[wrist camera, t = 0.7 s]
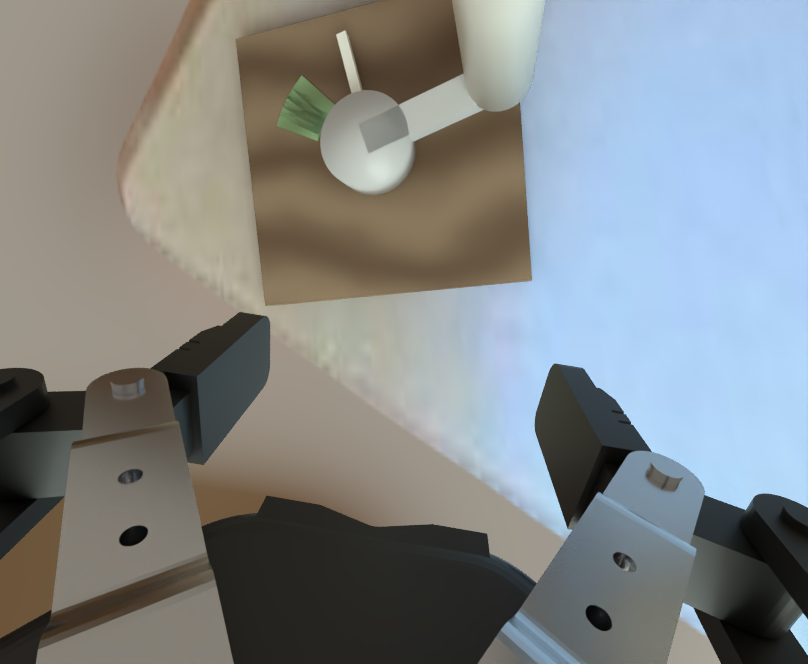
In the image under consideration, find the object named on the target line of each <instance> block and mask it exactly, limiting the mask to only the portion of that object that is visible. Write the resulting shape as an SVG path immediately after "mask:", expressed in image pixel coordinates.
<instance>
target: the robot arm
mask: <svg viewBox="0 0 808 664" xmlns="http://www.w3.org/2000/svg"><path fill="white" fill-rule="evenodd" d="M269 369H270V321H269V318H268V317H267V316H261V315H255V314H249V313H243V312H239V313H238V314H237V315H235V316H234V317H233V318H231V319H230V320H229V321H227V322H226V323H225V324H223V325H222V326H216V327H213V328H210V329H207V330H204V331H201V332H200V333H199V334H197V335H196V336H194V337H193V338H192V339H190V340H189V342H186V343H185V344H183V345H182V346H181V347H180V348H179V349H177V350H175V351H174V352H172V353H171V354H170V355H168V356H167V357H165V358H164V359H163V360H161V361H160V362H159V363H157V364H156V365H154V366H153V367H152V368H150V369H149V368H129V369H122V370H118V371H114V372H110V373H108V374H105V375H103V376H100V377H99V378H97V379H95V380H94V381H92V382H91V383H90V384H89V386H88V387H87V389H86V391H64V392H63V391H62V392H47V388H46V384H45V380H44V376H43V375H42V373H40V372H38V371H36V370H33V369H26V368H7V369H0V560H1V558H3V557H4V556H5V554H7V553H8V552H9V551H10V550H11V549H12V548H13V547H14V546H15V545H16V544H17V543H18V542H19V541H20V540H21V539H22V538H23V537H24V536H25V535H26V534H27V533H28V532H29V531H30V530H31V529H32V528H33V527H34V526H35V525H36V524H37V523H38V522H39V521H40V520H41V519H42V518H43V517H44V516H45V515H46V514H47V513H48V512H49V511H50V510H52V509H53V507H55V506H56V505H57V504H58V503H59V502H60V501H61V500H62V499H63V497H64V496H65V503H64V512H63V520H62V528H61V537H60V545H59V554H58V562H57V571H56V579H55V588H54V597H53V606H52V610H50V611H48V612H47V613H45V614H43V615H41V616H39V617H38V618H36V619H34V620H33V621H31V622H29V623H27V624H25V625H23V626H22V627H20V628H18V629H16V630H15V631H13V632H11V633H9V634H7V635H6V636H4V637H2V638H0V664H666V663H667V660H668V656H669V652H670V649H671V645H672V641H673V637H674V634H675V630H676V626H677V622H678V619H679V615H680V611H681V608H682V604H683V603H685V604H687V605H690V606H692V607H694V610H695V612H696V614H697V616H698V618H699V620H700V622H701V624H702V626H703V628H704V630H705V632H706V634H707V636H708V638H709V640H710V642H711V644H712V646H713V648H714V650H715V652H716V654H717V656H718V658H719V660H720V662H721V664H808V655H807V654H806V652H805V651H804V649H803V648H802V646H801V645H800V643H799V642H798V641H797V639H796V638H795V636H794V635H793V633H792V632H791V630H790V628H791V627H792V625H793V624H794V623H795V622H796V621H797V619H798V618H799V617H800V616H801V615H802V613H804V615H805V616H806V617H807V619H808V508H807V507H805V506H803V505H801V504H799V503H797V502H795V501H792V500H790V499H787V498H784V497H781V496H777V495H773V494H758V495H756V496H755V497H754V498H753V500H752V501H751V503H750V504H749V506H748V508H747V509H746V510H744V509H741V508H738V507H735V506H733V505H730V504H727V503H724V502H722V501H719V500H716V499H713V498H711V497H708V496H706V495H704V494H705V491H704V487H703V485H702V483H701V482H700V481H699V479H698V478H697V477H696V476H695V475H694V474H693V473H692V472H690V471H689V470H688V469H687V468H685V467H684V466H682V465H681V464H679V463H678V462H676V461H674V460H672V459H670V458H668V457H665V456H663V455H660V454H657V453H653V452H652V451H651V450H650V448H649V447H648V446H647V444H646V443H645V441H644V440H643V439H642V437H641V436H640V434H639V433H638V431H637V430H636V429H635V427H634V426H633V425H631V422H630V420H629V419H628V417H627V416H626V415H625V414H624V412H623V410H622V409H621V407H620V406H619V405H618V403H617V402H616V400H615V399H613V398H612V397H611V396H609V395H608V394H607V393H606V392H604V391H603V390H602V389H600V388H596V386H595V385H594V383H593V382H592V380H591V379H590V377H589V376H588V374H587V373H586V371H585V370H584V369H583V368H579V367H573V366H567V365H561V364H554V365H553V366H552V367H551V369H550V371H549V374H548V377H547V380H546V383H545V386H544V389H543V392H542V396H541V399H540V402H539V405H538V408H537V412H536V416H535V432H536V436H537V439H538V442H539V445H540V447H541V450H542V453H543V456H544V459H545V462H546V465H547V468H548V471H549V474H550V477H551V480H552V483H553V486H554V489H555V492H556V495H557V498H558V501H559V504H560V507H561V510H562V513H563V516H564V519H565V522H566V525H567V528H568V529H572V532H571V533H570V535H569V536H568V538H567V539H566V541H565V542H564V544H563V545H562V547H561V548H560V550H559V551H558V553H557V554H556V556H555V557H554V559H553V560H552V562H551V563H550V565H549V566H548V568H547V569H546V571H545V572H544V574H543V575H542V577H541V578H540V580H539V581H538V583H536V582H534V581H533V580H532V579H531V578H530V577H528V576H527V575H526V574H524V573H523V572H522V571H520V570H519V569H517V568H516V567H514V566H513V565H511V564H510V563H508V562H506V561H504V560H502V559H500V558H499V557H497V556H494V555H492V554H490V553H489V545H488V538H487V534H485V533H480V532H474V531H468V530H462V529H456V528H451V527H445V526H439V525H433V524H430V525H409V526H389V527H374V526H370V525H367V524H365V523H362V522H360V521H358V520H355V519H353V518H350V517H348V516H345V515H343V514H341V513H338V512H336V511H333V510H331V509H329V508H326V507H324V506H321V505H317V504H312V503H306V502H300V501H294V500H288V499H283V498H277V497H271V496H266V498H265V500H264V502H263V504H262V506H261V508H260V510H259V512H258V513H252V514H245V515H237V516H233V517H229V518H225V519H221V520H218V521H215V522H212V523H209V524H207V525H205V526H202V527H201V523H200V518H199V514H198V509H197V504H196V500H195V495H194V491H193V486H192V481H191V476H190V472H189V467H188V462H189V463H195V464H201V465H204V463H206V461H207V460H208V459H209V457H210V456H211V455H212V453H213V452H214V451H215V450H216V448H217V447H218V446H219V444H220V443H221V442H222V441H223V439H224V438H225V437H226V435H227V434H228V433H229V431H230V430H231V429H232V428H233V426H234V425H235V424H236V422H237V421H238V420H239V419H240V417H241V416H242V415H243V413H244V412H245V411H246V410H247V408H248V407H249V406H250V404H251V403H252V402H253V400H254V399H255V398H256V397H257V395H258V394H259V393H260V391H261V390H262V389H263V387H264V386H265V384H266V381H267V379H268V375H269Z"/></svg>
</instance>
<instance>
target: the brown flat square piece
mask: <svg viewBox="0 0 808 664" xmlns="http://www.w3.org/2000/svg"><path fill="white" fill-rule="evenodd" d="M343 31H346V32H347V34H348V36H349V40H350V43H351V47H352V51H353V55H354V59H355V63H356V66H357V70H358V74H359V78H360V82H361V85H362V89H363V90H373V91H378V92H381V93H384V94H386V95H388V96H389V97H391V98H392V99H393V100H394V101H395V102H396V103H397V104H398V105H399V104H401V103H403V102H405V101H408V100H410V99H412V98H414V97H416V96H418V95H420V94H422V93H424V92H426V91H428V90H430V89H433V88H435V87H437V86H439V85H441V84H443V83H445V82H447V81H449V80H451V79H453V78H455V77H457V76H460V75H462V74H464V72H463V65H462V59H461V53H460V47H459V41H458V34H457V28H456V22H455V16H454V10H453V3H452V0H381V1H378V2H374V3H370V4H366V5H363V6H359V7H355V8H352V9H348V10H344V11H340V12H337V13H333V14H329V15H325V16H322V17H318V18H314V19H310V20H307V21H303V22H299V23H296V24H292V25H288V26H284V27H281V28H277V29H273V30H269V31H266V32H262V33H258V34H254V35H251V36H247V37H243V38H240V39H236V44H237V53H238V62H239V71H240V80H241V89H242V99H243V108H244V117H245V126H246V135H247V144H248V153H249V162H250V171H251V180H252V189H253V198H254V208H255V217H256V226H257V235H258V244H259V253H260V262H261V271H262V280H263V289H264V298H265V306H268V305H283V304H293V303H304V302H314V301H325V300H335V299H346V298H356V297H367V296H377V295H388V294H398V293H409V292H419V291H430V290H440V289H451V288H461V287H472V286H482V285H493V284H503V283H514V282H524V281H531V280H532V276H531V261H530V246H529V231H528V216H527V201H526V186H525V171H524V157H523V142H522V127H521V112H520V102H519V103H518V104H517V105H515V106H514V107H512V108H510V109H507V110H504V111H499V112H492V111H487V110H482V111H480V112H478V113H475V114H473V115H471V116H469V117H467V118H464V119H462V120H460V121H458V122H456V123H453V124H451V125H449V126H447V127H445V128H442V129H440V130H438V131H436V132H433V133H431V134H429V135H427V136H425V137H422V138H420V139H418V140H416V156H415V160H414V164H413V166H412V169H411V171H410V173H409V174H408V176H407V177H406V178H405V180H404V181H403V182H402V183H401V184H400V185H399V186H397V187H396V188H395V189H393V190H391V191H389V192H387V193H384V194H380V195H365V194H361V193H358V192H356V191H354V190H353V189H351V188H350V187H348V186H347V185H346V184H344V183H343V182H341V181H340V180H339V179H337V178H336V177H335V176H334V175H333V174H332V173H331V172H330V171H329V169H328V168H327V166H326V164H325V162H324V160H323V157H322V153H321V147H320V137H321V131H322V127H323V124H324V121H325V119H326V117H327V115H328V113H329V112H330V110H331V109H332V108H333V106H334V105H335V104H336V103H337V102H338V101H340V100H341V99H342V98H344V97H345V96H347V95H349V94H351V90H350V86H349V82H348V78H347V74H346V71H345V67H344V63H343V59H342V55H341V52H340V48H339V44H338V40H337V36H336V34H338V33H340V32H343Z"/></svg>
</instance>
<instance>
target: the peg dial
mask: <svg viewBox="0 0 808 664" xmlns="http://www.w3.org/2000/svg"><path fill="white" fill-rule="evenodd" d="M452 3H453V10H454V16H455V22H456V28H457V34H458V41H459V47H460V53H461V59H462V65H463V72H464V74H462V75H460V76H457V77H455V78H453V79H451V80H449V81H447V82H445V83H443V84H441V85H439V86H437V87H435V88H433V89H430V90H428V91H426V92H424V93H422V94H420V95H418V96H416V97H414V98H412V99H410V100H408V101H405V102H403V103H401V104H399V105H398V104H397V103H396V102H395V101H394V100H393V99H392V98H391V97H389V96H388V95H386V94H384V93H381V92H378V91H373V90H363V89H362V85H361V82H360V78H359V74H358V70H357V66H356V63H355V59H354V55H353V51H352V47H351V43H350V40H349V36H348V34H347V32H346V31H343V32H340V33H338V34H336V36H337V40H338V44H339V48H340V52H341V55H342V59H343V63H344V67H345V71H346V74H347V78H348V82H349V86H350V90H351V94H349V95H347V96H345V97H344V98H342V99H341V100H340V101H338V102H337V103H336V104H335V105H334V106H333V108H332V109H331V110H330V112H329V113H328V115H327V117H326V119H325V121H324V124H323V127H322V131H321V137H320V147H321V153H322V157H323V160H324V162H325V164H326V166H327V168H328V169H329V171H330V172H331V173H332V174H333V175H334V176H335V177H336V178H337V179H339V180H340V181H341V182H343V183H344V184H346V185H347V186H348V187H350V188H351V189H353V190H354V191H356V192H358V193H361V194H365V195H380V194H384V193H387V192H389V191H391V190H393V189H395V188H396V187H397V186H399V185H400V184H401V183H402V182H403V181H404V180H405V178H406V177H407V176H408V174H409V173H410V171H411V169H412V166H413V164H414V160H415V156H416V140H418V139H420V138H422V137H425V136H427V135H429V134H431V133H433V132H436V131H438V130H440V129H442V128H445V127H447V126H449V125H451V124H453V123H456V122H458V121H460V120H462V119H464V118H467V117H469V116H471V115H473V114H475V113H478V112H480V111H482V110H487V111H492V112H499V111H504V110H507V109H510V108H512V107H514V106H515V105H517V104H518V103H519V102H520V101H521V100H522V99H523V98H524V97H525V96H526V95H527V93H528V92H529V90H530V88H531V85H532V82H533V78H534V72H535V65H536V59H537V52H538V46H539V39H540V33H541V26H542V20H543V13H544V7H545V0H452Z"/></svg>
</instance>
